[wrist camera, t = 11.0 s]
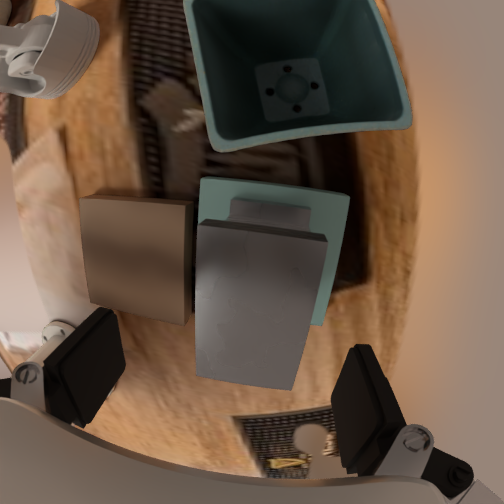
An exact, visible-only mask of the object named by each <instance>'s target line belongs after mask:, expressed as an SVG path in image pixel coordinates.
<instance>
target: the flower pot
mask: <svg viewBox="0 0 504 504" xmlns="http://www.w3.org/2000/svg"><path fill="white" fill-rule="evenodd" d="M183 5H184V12H185V15H186V21H187V26H188V31H189V35H190V41H191V45H192V51H193V56H194V62H195V66H196V71H197V76H198V81H199V86H200V92H201V97H202V103H203V109H204V115H205V119H206V127H207V132H208V137H209V140H210V143H211V145H212V147H213V149H214V150H215V151H217V152H231V151H236V150H240V149H244V148H249V147H253V146H258V145H263V144H268V143H273V142H280V141H284V140H290V139H297V138H304V137H310V136H319V135H328V134H336V133H346V132H359V131H375V130H404V129H408V128H409V127H410V126H411V125H412V109H411V104H410V100H409V97H408V93H407V89H406V86H405V82H404V79H403V75H402V72H401V69H400V66H399V63H398V60H397V57H396V54H395V51H394V48H393V45H392V42H391V40H390V37H389V35H388V32H387V30H386V26H385V24H384V22H383V19H382V17H381V14H380V11H379V9H378V7H377V5H376V2H375V0H184V1H183ZM285 67H290V68H291V71H290V72H285V71H284V68H285ZM312 83H316V84H317V85H318V88H317V89H313V88H311V84H312ZM268 89H272V90H273V94H272V95H268V94H267V90H268ZM297 105H298V106H300V108H301V110H300V111H299V112H295V111H294V109H293V108H294V106H297Z"/></svg>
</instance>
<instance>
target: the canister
mask: <svg viewBox="0 0 504 504" xmlns="http://www.w3.org/2000/svg"><path fill="white" fill-rule="evenodd" d="M11 9H12V4H11V2H10V0H0V25H4V26H6V24H7V22H8V20H9V17H10V13H11Z"/></svg>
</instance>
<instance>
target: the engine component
mask: <svg viewBox="0 0 504 504" xmlns="http://www.w3.org/2000/svg"><path fill="white" fill-rule="evenodd" d="M55 5H56V9H57V12H55V13H53V14H52V15H50V16H47V15H40V16H37V17H35V18H34V19H32V20H31V21H29V22H28V23H26V24H23V23H19V24H17V25H16V26H14V27H9V26H4V25H0V92H6V93H12V94H16V95H19V96H23V97H32V98H41V99H54V98H57V97H59V96H61V95H63V94H65V93H66V92H67V91H68V90H69V89H71V88H72V87H73V86H74V85H75V84H76V83H77V81H78V80H79V79H80V78H81V76H82V75H83V74H84V72H85V71H86V69H87V68H88V66H89V64H90V62H91V61H92V59H93V56H94V54H95V52H96V49H97V46H98V42H99V37H100V28H99V24H98V22H97V20H96V19H95V18H94V17H92V16H90V15H88V14H86V13H84V12H83V11H80V10H79V9H77V8H75V7H73V6H71V5H69V4H67V3H65V2H63V1H61V0H56V1H55Z"/></svg>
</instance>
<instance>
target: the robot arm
mask: <svg viewBox="0 0 504 504" xmlns="http://www.w3.org/2000/svg"><path fill="white" fill-rule="evenodd" d="M42 342H43V345H42V346H41V347H40V348H39V349H38V350H37V351H36V352H35V353H34V354H33V355H32V356H31V357H30V358H29V359H28V360H27V361H26V362H23V363H21V364H19V365H18V366H17V367H16V368H15V369H14V371H13V373H12V376H11V377H10V378H7V379H0V504H504V503H503V501H502V500H501V499H500V498H499V497H498V496H497V495H496V494H495V493H493V492H492V491H491V490H490V489H489V488H488V487H486V486H485V485H484V484H483V483H482V482H481V481H479V480H478V479H477V480H476V481H474V480H473V478H474V474H473V470H472V467H470V465H469V464H468V463H466V462H465V461H462V460H460V459H458V458H455V457H453V456H451V455H449V454H447V453H445V452H443V451H441V450H439V449H437V448H435V447H433V445H434V439H433V435H432V434H431V432H430V431H429V430H428V429H427V428H425V427H423V426H421V425H417V424H411V425H407V424H406V422H405V419H404V417H403V414H402V412H401V410H400V407H399V405H398V402H397V400H396V398H395V395H394V393H393V391H392V388H391V386H390V384H389V381H388V379H387V378H386V377H385V376H384V374H383V371H382V369H381V367H380V365H379V362H378V360H377V358H376V356H375V354H374V352H373V349H372V347H371V346H370V345H369V344H356V345H355V346H354V348H350V349H349V352H348V354H347V357H346V360H345V362H344V365H343V368H342V370H341V373H340V375H339V378H338V380H337V383H336V385H335V387H334V390H333V392H332V395H331V405H332V410H333V416H334V421H335V427H336V432H337V438H338V444H339V450H340V457H341V463H342V467H343V468H346V470H347V474H353V473H358V477H347V478H332V479H273V478H258V477H248V476H239V475H231V474H224V473H218V472H212V471H206V470H201V469H196V468H191V467H187V466H182V465H178V464H174V463H170V462H167V461H163V460H159V459H156V458H153V457H149V456H146V455H143V454H140V453H137V452H134V451H131V450H128V449H125V448H123V447H120V446H117V445H115V444H112V443H110V442H107V441H105V440H102V439H100V438H97V437H95V436H93V435H91V434H88V433H86V432H84V431H82V430H80V429H78V428H76V427H74V426H75V425H77V426H79V427H81V428H83V429H84V427H85V426H86V424H87V423H88V424H89V423H91V421H92V420H93V418H94V417H95V415H96V413H97V412H98V410H99V409H100V407H101V406H102V404H103V402H104V401H105V399H106V398H107V397H108V396H109V395H110V394H111V393H112V392H113V390H114V388H115V384H116V382H117V381H118V379H119V378H120V376H121V375H122V373H123V372H124V370H125V366H126V363H125V358H124V353H123V348H122V343H121V337H120V332H119V326H118V320H117V315H116V314H114V312H113V310H111V309H107V308H104V307H99V308H97V309H96V310H95V311H94V312H93V313H92V314H91V315H90V316H89V317H88V318H87V319H86V320H85V321H83V322H82V323H81V324H80V325H79V326H78V327H77V328H76V329H75V328H73V327H72V326H70V325H68V324H65V323H63V322H58V321H55V322H51V323H49V324H48V325H47V326H46V327H45V328H44V329H43V332H42Z"/></svg>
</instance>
